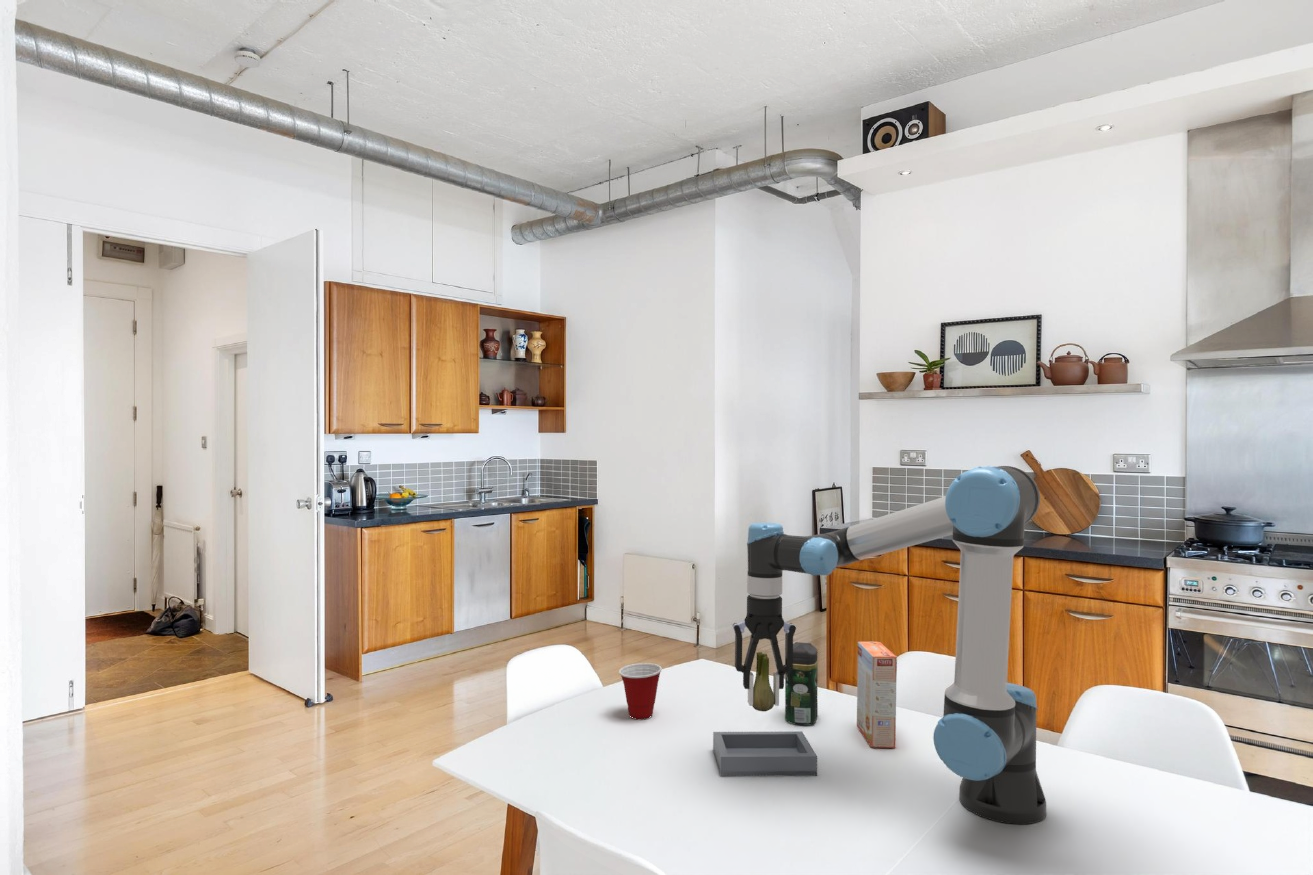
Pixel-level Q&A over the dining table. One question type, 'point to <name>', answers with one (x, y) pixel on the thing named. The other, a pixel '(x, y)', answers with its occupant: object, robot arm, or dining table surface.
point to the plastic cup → (640, 688)
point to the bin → (764, 754)
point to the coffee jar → (802, 686)
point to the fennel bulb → (762, 685)
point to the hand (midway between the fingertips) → (763, 703)
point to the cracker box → (876, 694)
